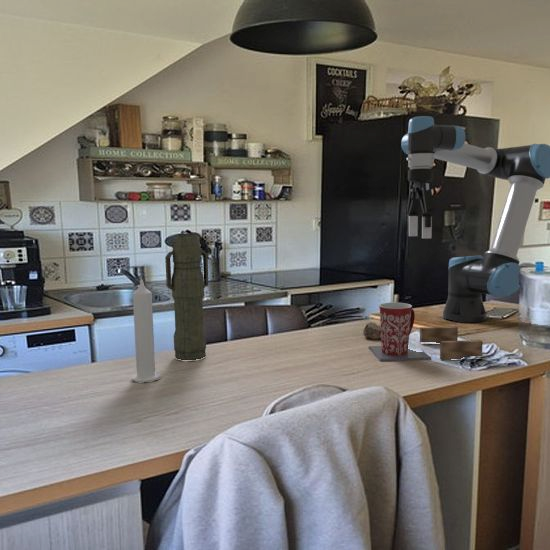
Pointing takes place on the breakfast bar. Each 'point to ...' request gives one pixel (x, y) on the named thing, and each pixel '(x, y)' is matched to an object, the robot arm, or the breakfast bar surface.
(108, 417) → the breakfast bar surface
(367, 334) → the rock
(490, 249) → the robot arm
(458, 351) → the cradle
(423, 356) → the coaster
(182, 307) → the thermos
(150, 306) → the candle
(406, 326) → the mug
